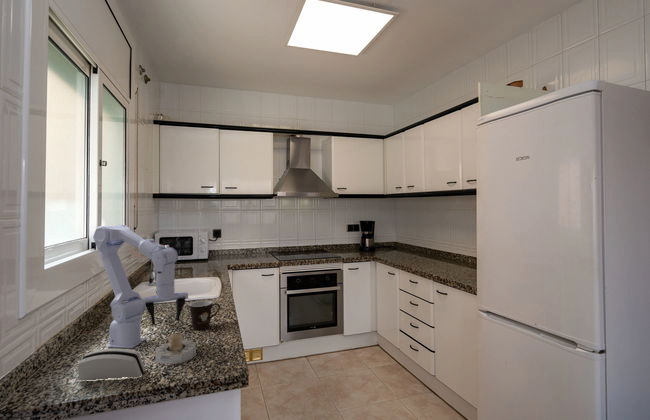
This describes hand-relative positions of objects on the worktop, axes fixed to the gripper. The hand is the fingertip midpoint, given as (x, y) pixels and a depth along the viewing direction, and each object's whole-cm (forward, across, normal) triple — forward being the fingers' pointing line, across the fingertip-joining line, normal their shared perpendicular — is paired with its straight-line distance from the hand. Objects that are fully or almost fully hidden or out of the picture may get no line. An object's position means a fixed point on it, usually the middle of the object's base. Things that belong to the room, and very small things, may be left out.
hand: (165, 321), depth 114 cm
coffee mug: (+10, +16, +14) cm, 23 cm away
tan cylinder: (+9, +2, -9) cm, 13 cm away
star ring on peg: (+9, +2, -9) cm, 13 cm away
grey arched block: (+10, -16, -14) cm, 23 cm away
